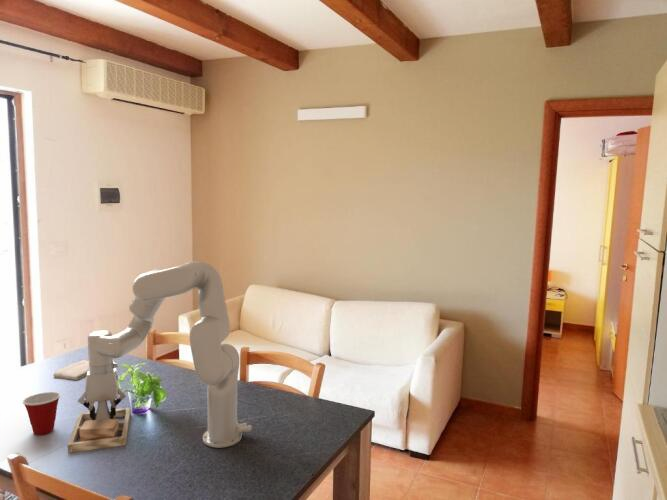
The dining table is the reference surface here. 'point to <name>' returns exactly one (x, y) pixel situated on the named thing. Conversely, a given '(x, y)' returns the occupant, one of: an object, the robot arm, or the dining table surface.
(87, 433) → the offcut upper
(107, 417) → the flask
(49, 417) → the plastic cup
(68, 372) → the washcloth
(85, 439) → the offcut lower
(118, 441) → the wooden tray
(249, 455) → the dining table surface
